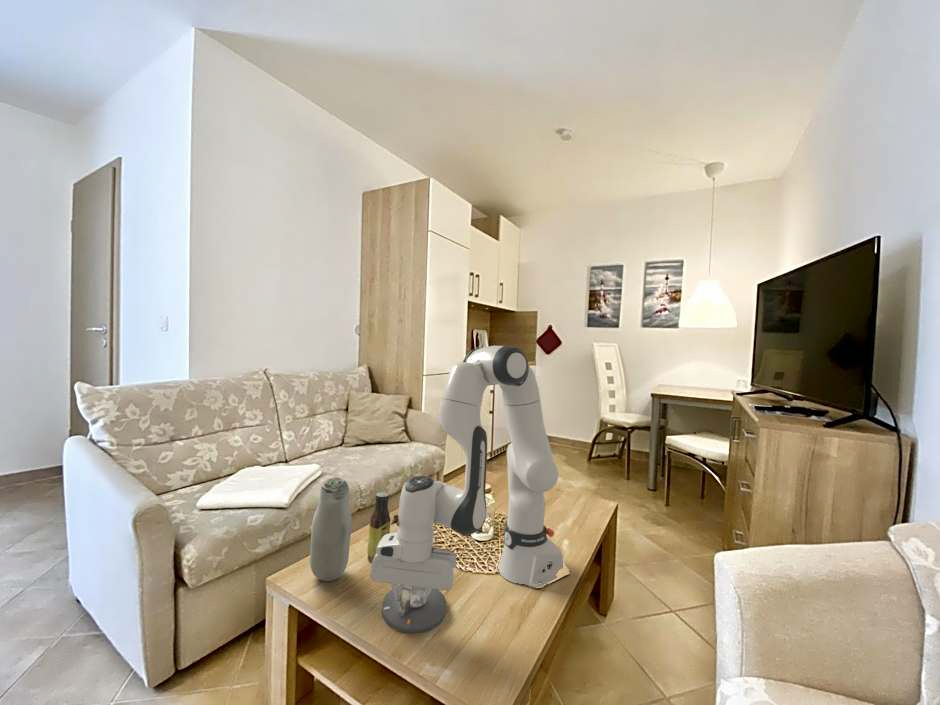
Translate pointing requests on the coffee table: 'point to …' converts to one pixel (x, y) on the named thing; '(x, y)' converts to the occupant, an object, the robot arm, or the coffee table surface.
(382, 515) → the sauce bottle
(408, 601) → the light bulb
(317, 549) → the grey bottle
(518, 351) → the robot arm
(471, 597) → the coffee table surface
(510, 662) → the coffee table surface
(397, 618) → the dial plate
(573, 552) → the coffee table surface
